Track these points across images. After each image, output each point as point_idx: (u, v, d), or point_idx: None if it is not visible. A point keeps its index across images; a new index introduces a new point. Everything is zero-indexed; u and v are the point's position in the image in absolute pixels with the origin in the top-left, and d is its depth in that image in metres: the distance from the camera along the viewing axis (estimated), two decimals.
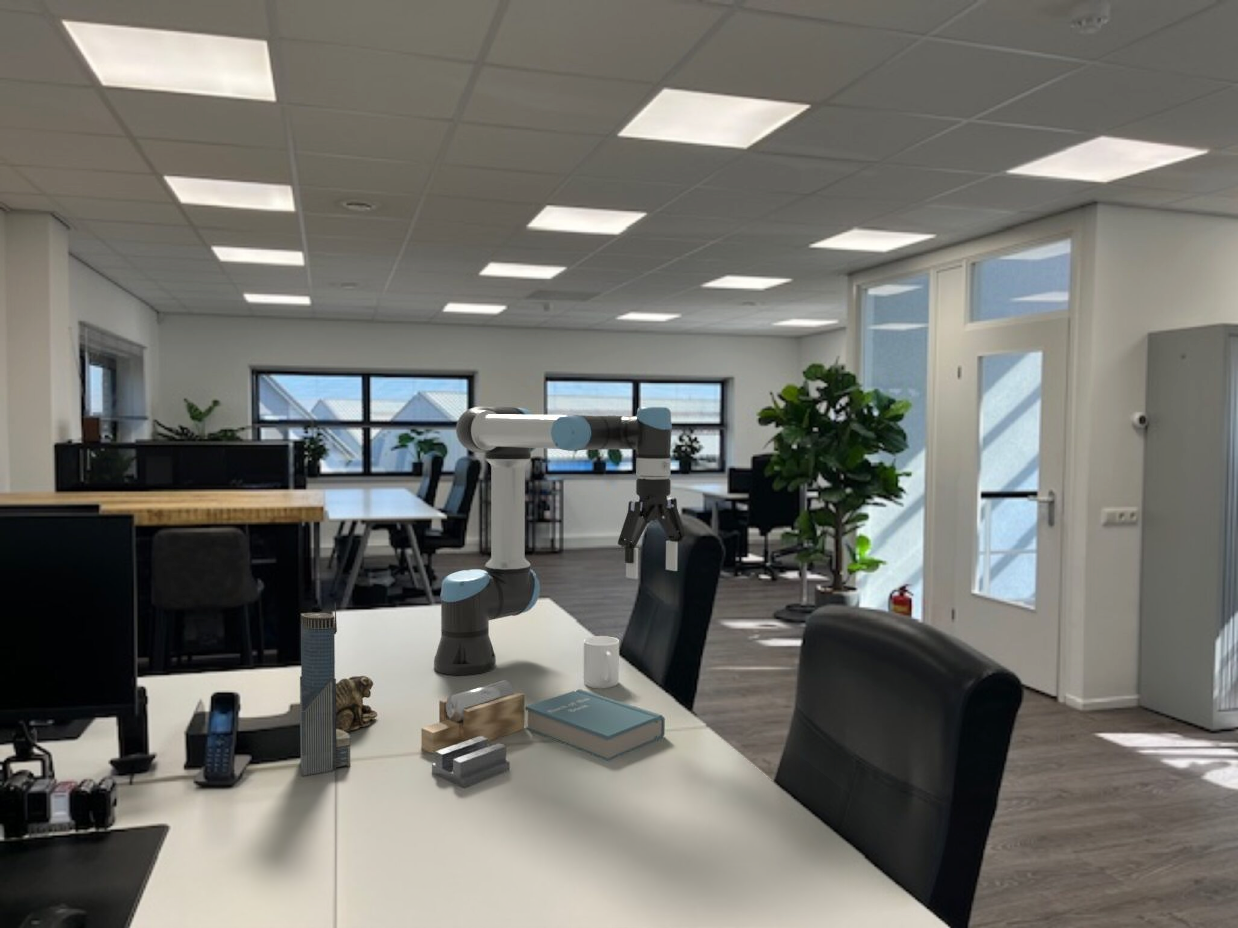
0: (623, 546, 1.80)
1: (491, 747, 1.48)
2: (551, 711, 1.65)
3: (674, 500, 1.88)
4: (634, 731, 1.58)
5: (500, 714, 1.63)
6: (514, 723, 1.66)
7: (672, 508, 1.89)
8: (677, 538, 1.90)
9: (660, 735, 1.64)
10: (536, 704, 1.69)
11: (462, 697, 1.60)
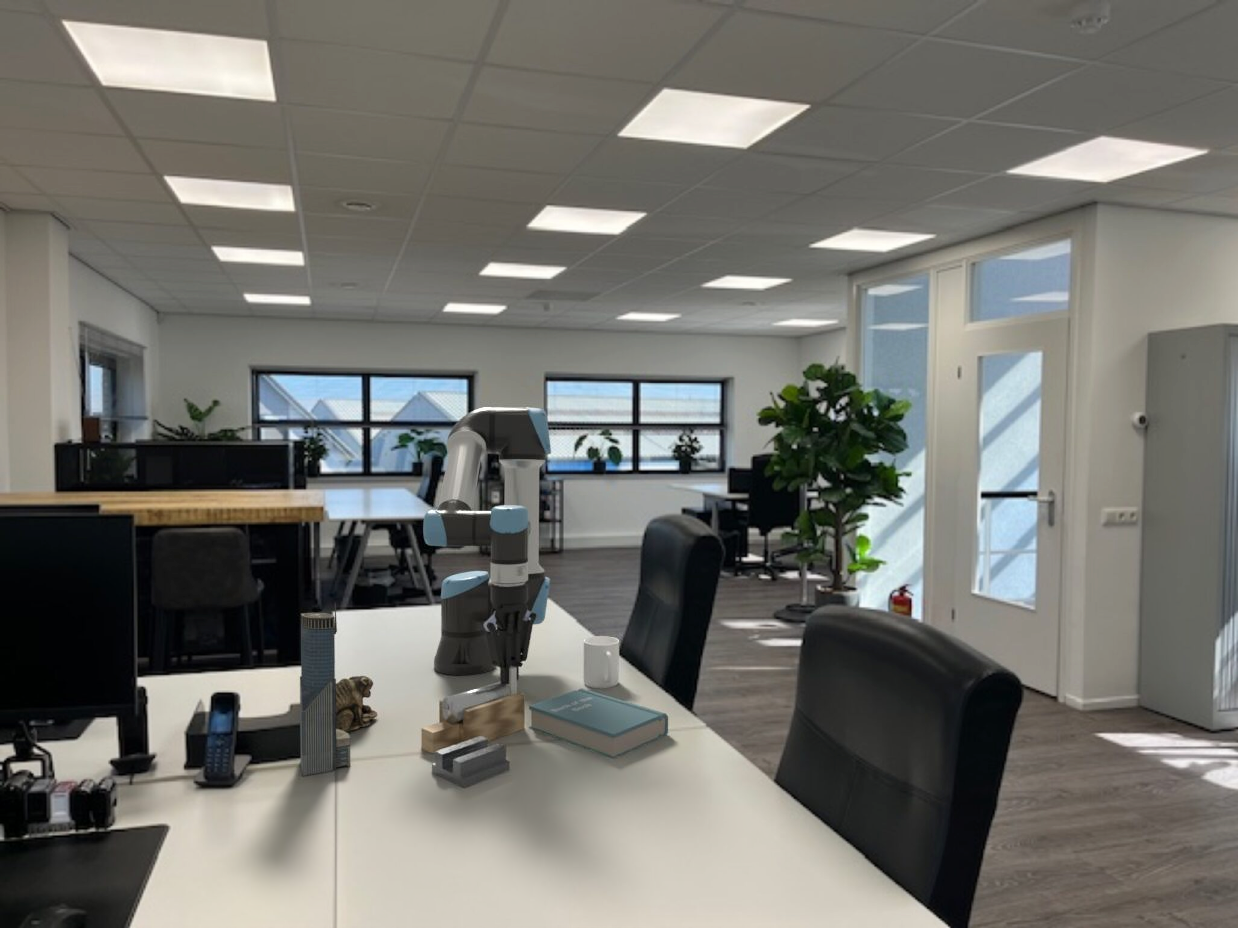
0: None
1: (491, 747, 1.48)
2: (555, 710, 1.66)
3: (534, 615, 1.73)
4: (639, 729, 1.59)
5: (500, 714, 1.63)
6: (514, 723, 1.66)
7: (528, 622, 1.72)
8: (517, 661, 1.70)
9: (664, 733, 1.65)
10: (539, 703, 1.69)
11: (459, 699, 1.59)
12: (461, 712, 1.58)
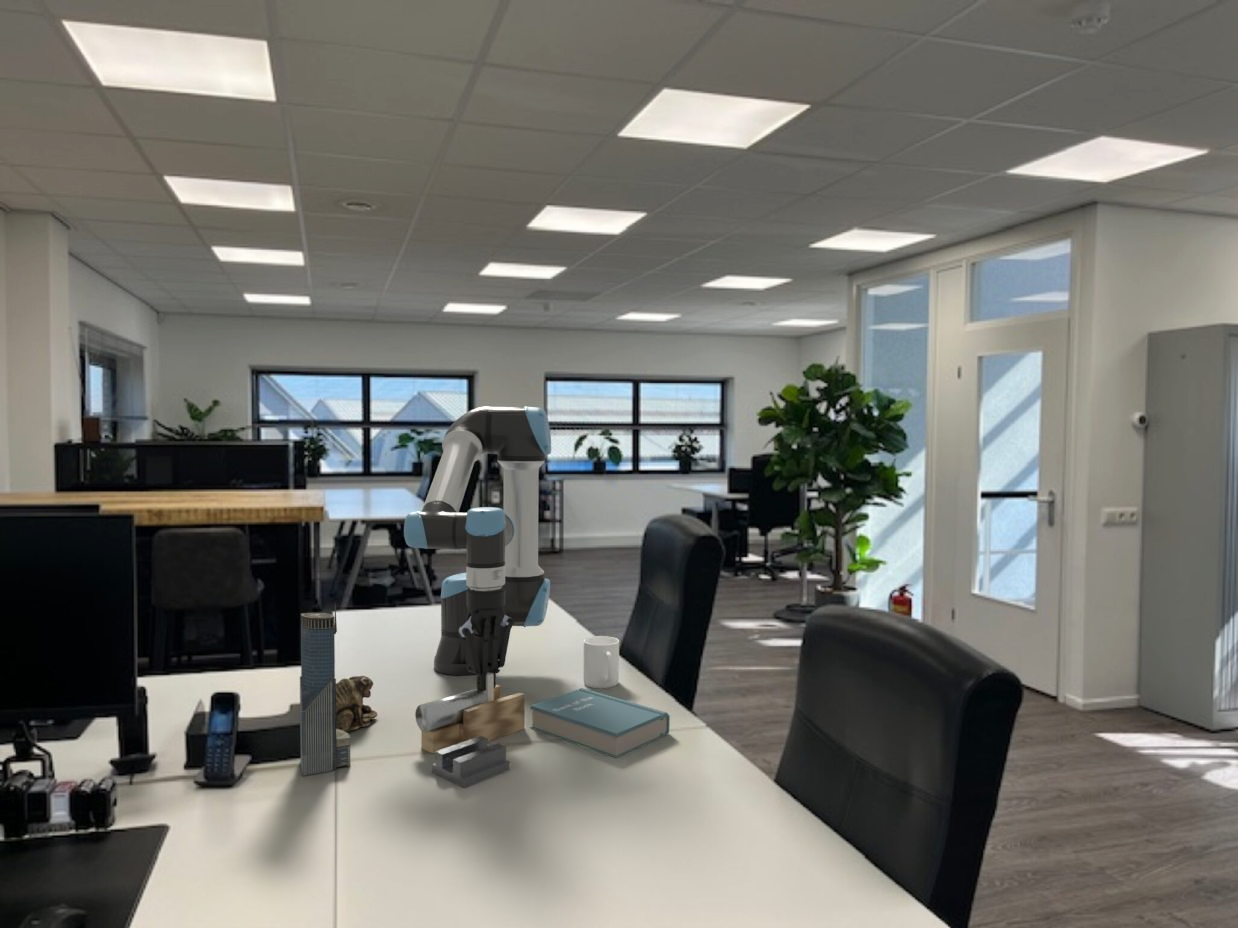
0: None
1: (491, 747, 1.48)
2: (557, 709, 1.66)
3: (511, 619, 1.69)
4: (641, 728, 1.60)
5: (500, 714, 1.63)
6: (514, 723, 1.66)
7: (505, 627, 1.68)
8: (494, 668, 1.66)
9: (665, 732, 1.66)
10: (540, 703, 1.70)
11: (432, 707, 1.55)
12: (435, 720, 1.54)
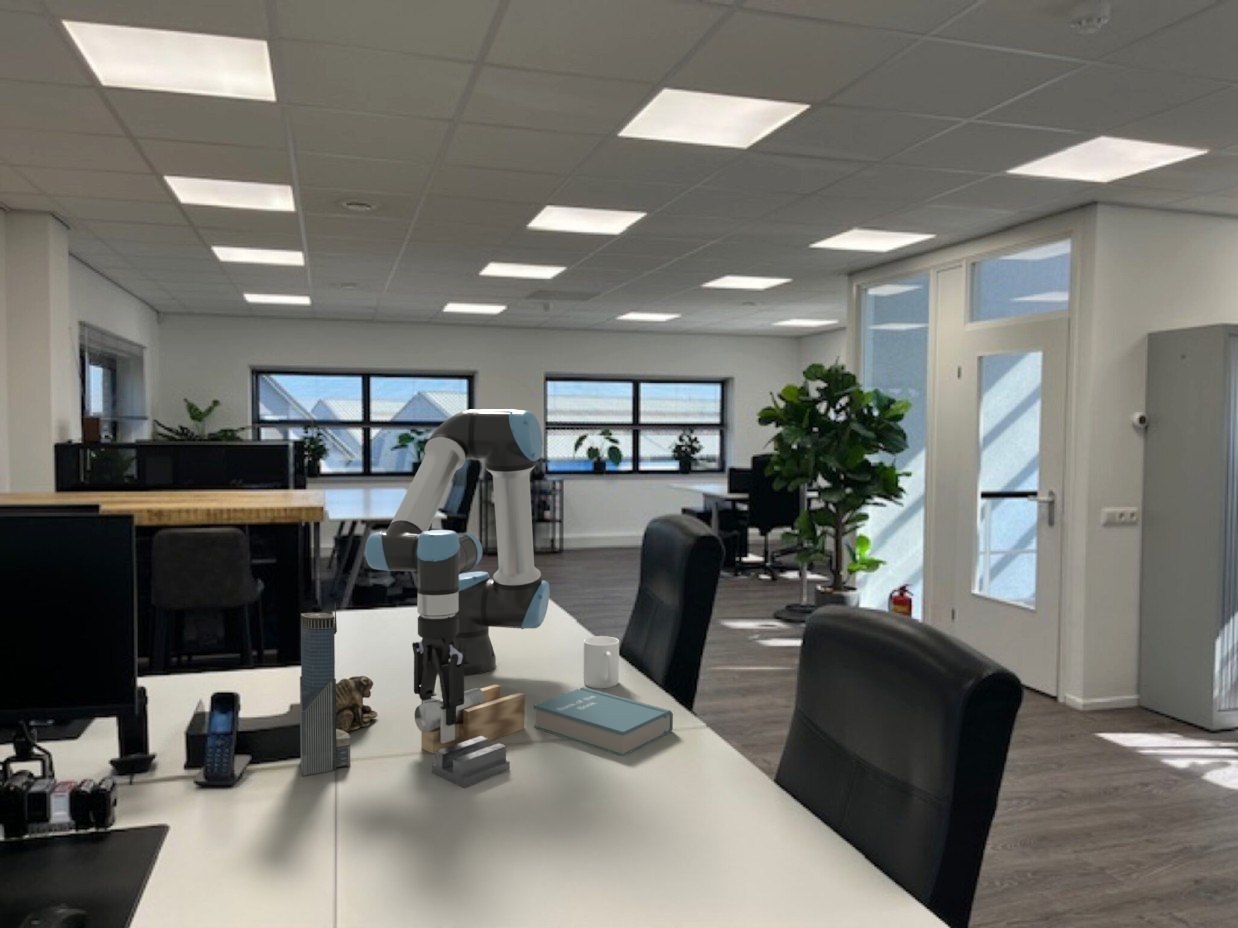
0: (445, 708, 1.54)
1: (491, 747, 1.48)
2: (561, 709, 1.66)
3: None
4: (646, 726, 1.61)
5: (500, 714, 1.63)
6: (514, 723, 1.66)
7: None
8: None
9: (668, 730, 1.67)
10: (543, 703, 1.70)
11: (431, 707, 1.55)
12: (434, 720, 1.54)
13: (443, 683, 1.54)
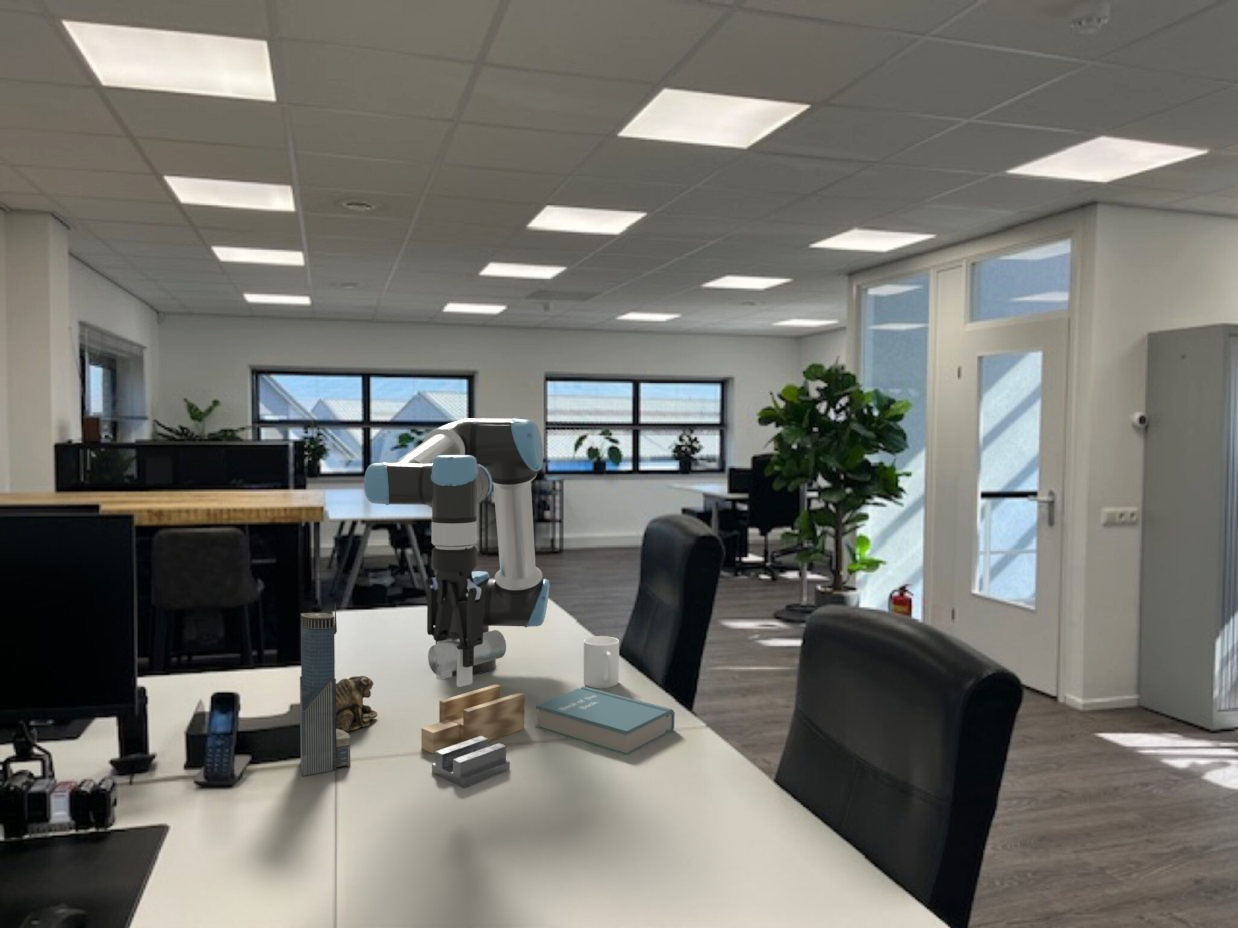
0: (462, 648, 1.40)
1: (491, 747, 1.48)
2: (563, 708, 1.67)
3: None
4: (648, 725, 1.62)
5: (500, 714, 1.63)
6: (514, 723, 1.66)
7: None
8: None
9: (670, 729, 1.68)
10: (545, 702, 1.70)
11: (446, 647, 1.41)
12: (450, 661, 1.40)
13: (460, 621, 1.41)
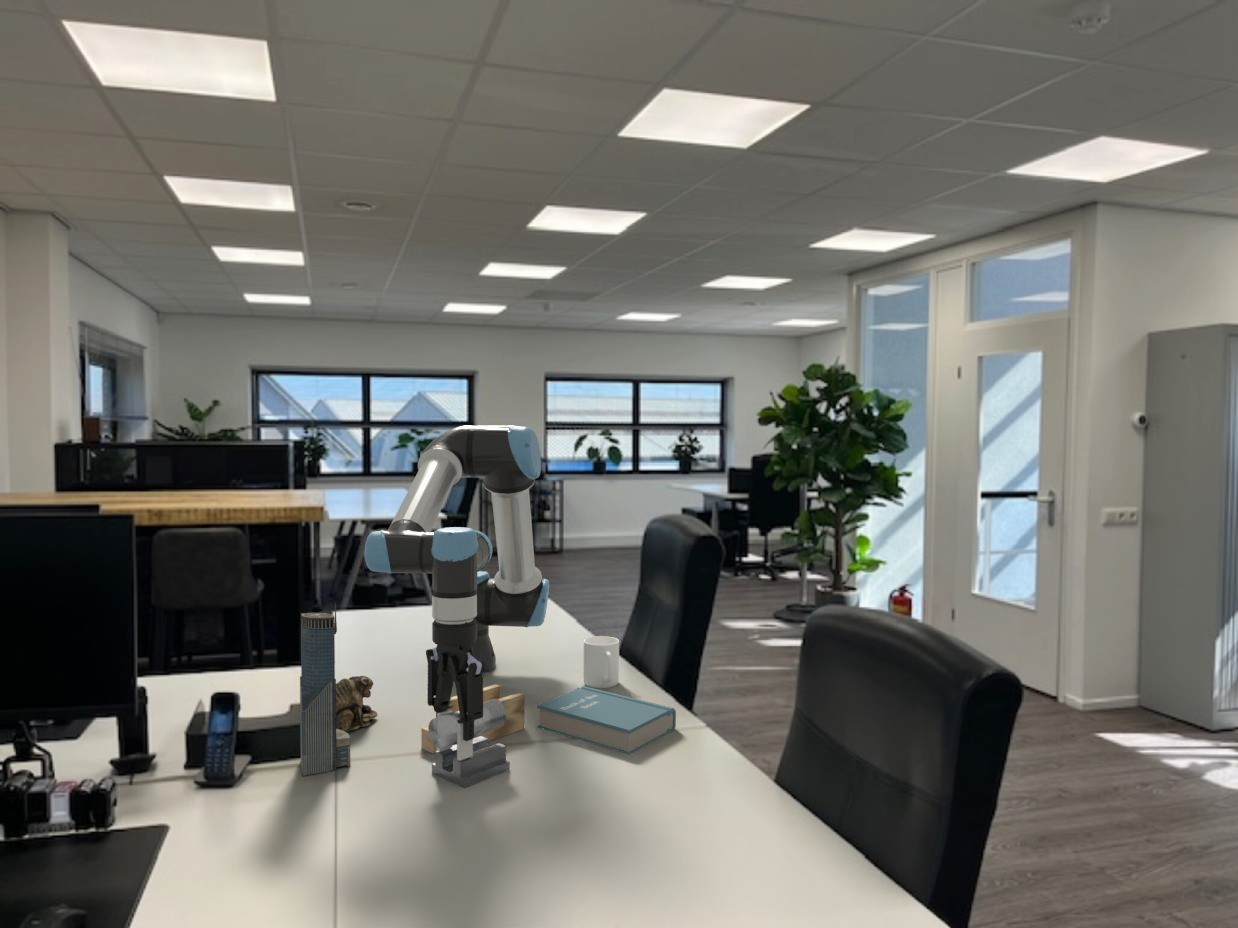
0: (463, 722, 1.41)
1: (491, 747, 1.48)
2: (564, 708, 1.67)
3: None
4: (650, 724, 1.62)
5: None
6: (514, 723, 1.66)
7: None
8: None
9: (672, 727, 1.68)
10: (547, 702, 1.70)
11: (447, 720, 1.42)
12: (450, 735, 1.41)
13: (460, 694, 1.41)
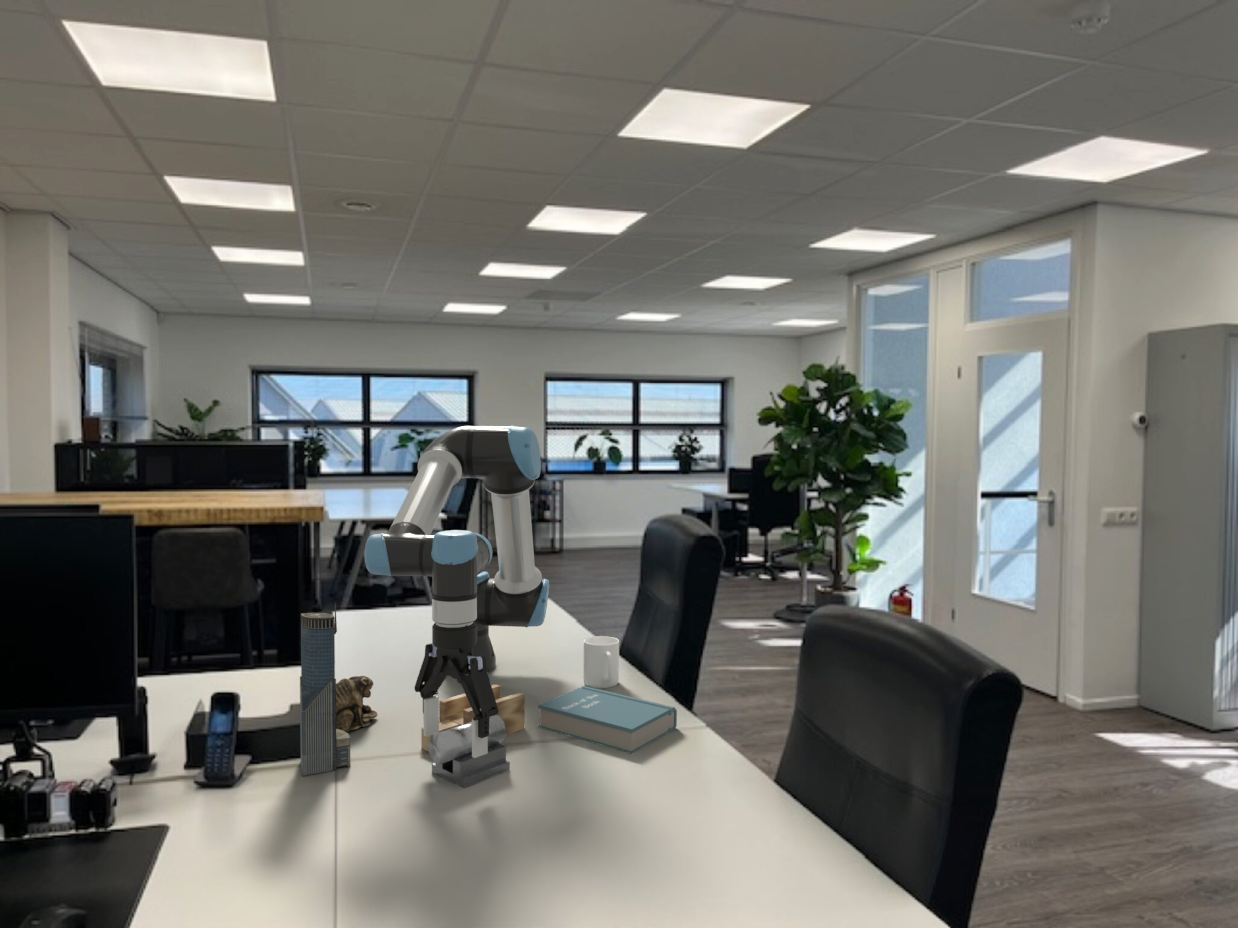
0: (479, 718, 1.38)
1: (491, 747, 1.48)
2: (566, 708, 1.67)
3: None
4: (652, 723, 1.62)
5: (500, 714, 1.63)
6: (514, 723, 1.66)
7: None
8: None
9: (673, 727, 1.69)
10: (548, 702, 1.70)
11: (447, 736, 1.42)
12: (450, 751, 1.41)
13: (469, 693, 1.40)
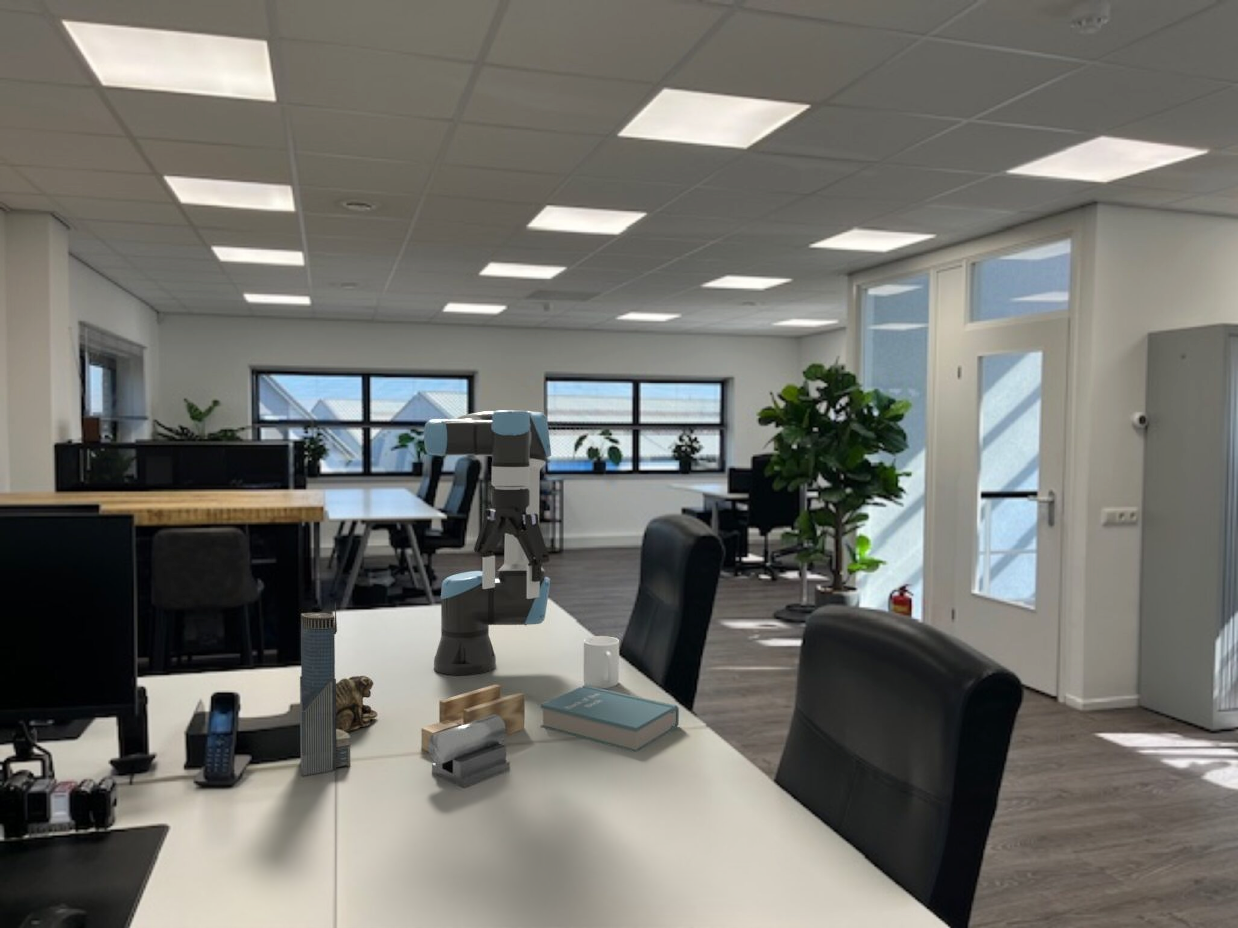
0: (533, 564, 1.63)
1: (491, 747, 1.48)
2: (569, 707, 1.68)
3: None
4: (655, 722, 1.63)
5: (500, 714, 1.63)
6: (514, 723, 1.66)
7: (494, 520, 1.74)
8: None
9: (675, 725, 1.70)
10: (550, 702, 1.71)
11: (447, 736, 1.42)
12: (450, 751, 1.41)
13: (524, 544, 1.65)
